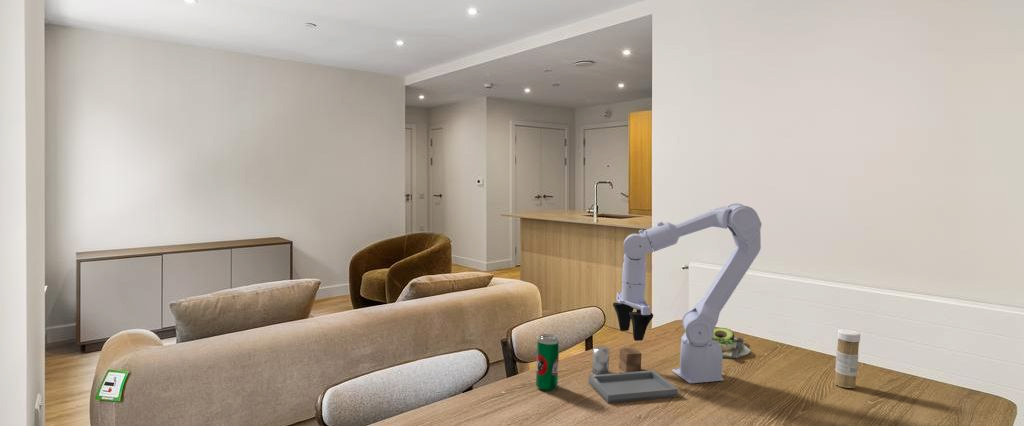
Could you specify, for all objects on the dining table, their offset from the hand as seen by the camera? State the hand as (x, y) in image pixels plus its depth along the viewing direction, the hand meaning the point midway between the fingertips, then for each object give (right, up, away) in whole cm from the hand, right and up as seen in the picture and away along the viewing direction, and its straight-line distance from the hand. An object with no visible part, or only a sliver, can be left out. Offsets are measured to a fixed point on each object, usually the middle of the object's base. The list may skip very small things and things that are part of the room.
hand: (631, 335), depth 132 cm
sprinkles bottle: (+50, -11, -6) cm, 52 cm away
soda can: (-22, -10, -11) cm, 26 cm away
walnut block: (0, -9, +1) cm, 9 cm away
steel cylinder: (-8, -9, -1) cm, 12 cm away
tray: (-2, -10, -11) cm, 15 cm away
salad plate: (+29, -9, +20) cm, 36 cm away
